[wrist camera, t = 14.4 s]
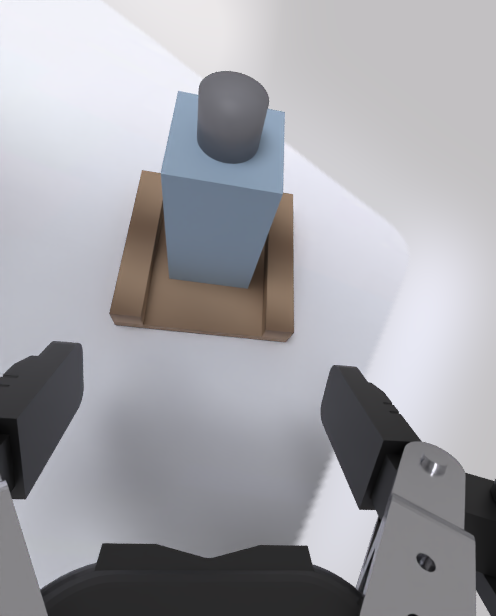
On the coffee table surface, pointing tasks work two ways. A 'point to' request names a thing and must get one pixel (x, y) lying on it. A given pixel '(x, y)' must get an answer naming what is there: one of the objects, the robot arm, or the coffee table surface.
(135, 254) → the slot board
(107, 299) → the coffee table surface
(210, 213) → the plug block
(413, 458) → the robot arm
